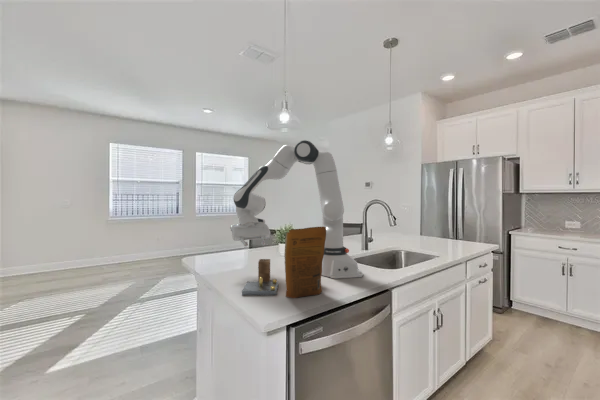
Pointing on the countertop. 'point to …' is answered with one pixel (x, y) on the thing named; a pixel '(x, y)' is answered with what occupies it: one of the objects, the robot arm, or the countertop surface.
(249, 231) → the robot arm
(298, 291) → the pancake mix bag
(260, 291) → the pin plate
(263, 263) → the brown wooden block
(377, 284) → the countertop surface
